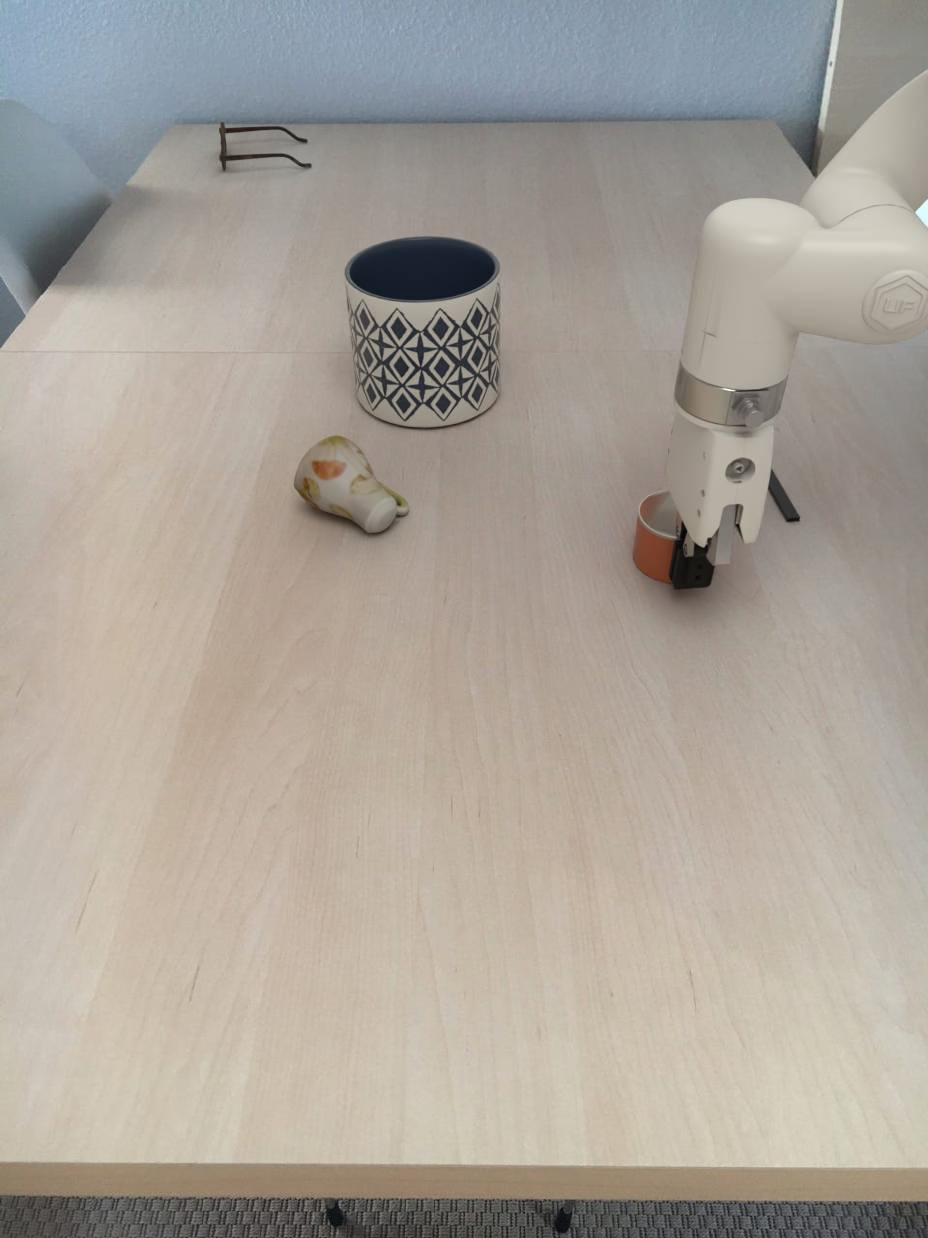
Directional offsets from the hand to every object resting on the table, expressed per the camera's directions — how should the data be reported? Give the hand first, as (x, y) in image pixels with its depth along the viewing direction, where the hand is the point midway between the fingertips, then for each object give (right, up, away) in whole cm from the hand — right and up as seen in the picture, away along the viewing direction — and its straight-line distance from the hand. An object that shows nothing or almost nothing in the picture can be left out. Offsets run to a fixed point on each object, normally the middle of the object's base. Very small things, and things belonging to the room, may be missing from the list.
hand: (688, 582), depth 83 cm
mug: (-29, +7, +12) cm, 32 cm away
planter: (-23, +22, +28) cm, 42 cm away
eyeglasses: (-52, +75, +85) cm, 125 cm away
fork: (+11, +11, +15) cm, 22 cm away
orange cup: (0, +2, +6) cm, 6 cm away
